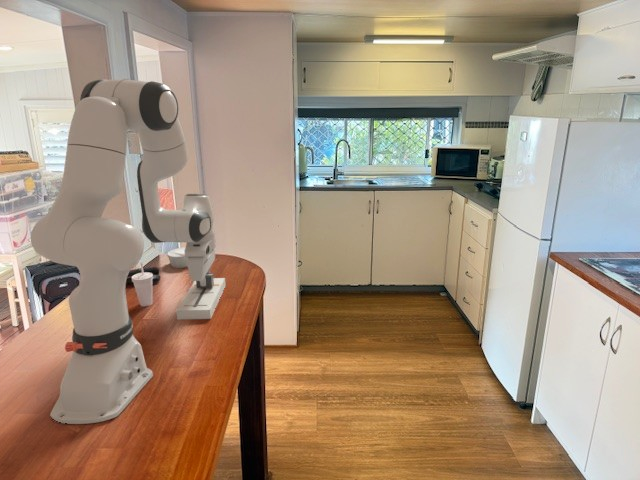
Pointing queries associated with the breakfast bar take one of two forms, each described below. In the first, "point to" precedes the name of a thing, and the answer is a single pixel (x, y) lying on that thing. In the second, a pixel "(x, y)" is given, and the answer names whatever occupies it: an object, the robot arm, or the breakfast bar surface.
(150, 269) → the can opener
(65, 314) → the breakfast bar surface
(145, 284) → the smoothie
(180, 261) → the ramekin
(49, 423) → the breakfast bar surface
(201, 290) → the fader console
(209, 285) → the fader knob
